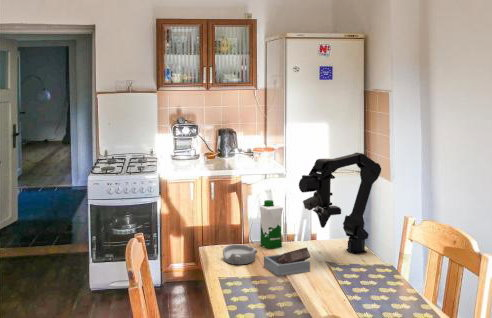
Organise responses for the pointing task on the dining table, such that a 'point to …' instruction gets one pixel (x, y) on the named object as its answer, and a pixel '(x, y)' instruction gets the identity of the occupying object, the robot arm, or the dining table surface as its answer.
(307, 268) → the tray
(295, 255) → the box
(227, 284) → the dining table surface
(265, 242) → the milk carton
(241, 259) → the dish
